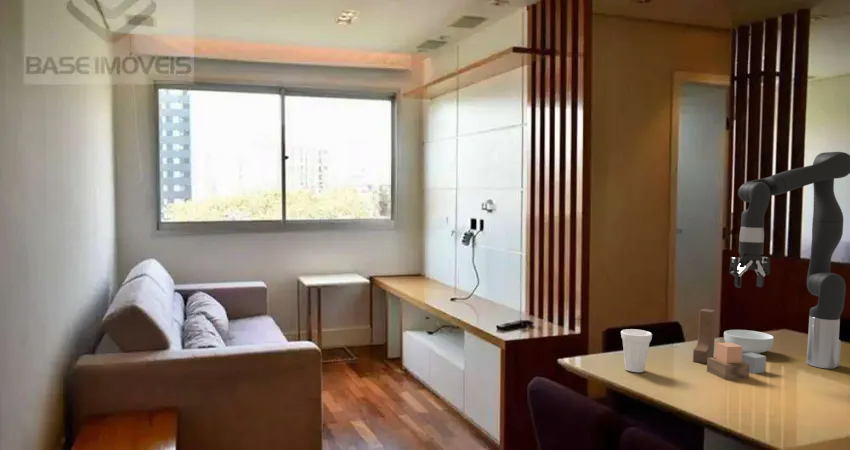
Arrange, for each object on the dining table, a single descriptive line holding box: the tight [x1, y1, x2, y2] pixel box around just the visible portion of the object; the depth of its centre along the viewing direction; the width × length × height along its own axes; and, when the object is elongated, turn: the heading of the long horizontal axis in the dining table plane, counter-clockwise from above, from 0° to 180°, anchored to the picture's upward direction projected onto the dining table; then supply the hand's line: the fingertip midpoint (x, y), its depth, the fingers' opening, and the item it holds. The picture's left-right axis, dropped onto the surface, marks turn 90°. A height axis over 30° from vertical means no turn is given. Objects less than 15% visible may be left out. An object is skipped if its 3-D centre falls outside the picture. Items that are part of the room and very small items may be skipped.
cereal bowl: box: [723, 329, 775, 355], centre depth 246 cm, size 17×17×7 cm
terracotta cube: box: [715, 342, 742, 363], centre depth 215 cm, size 6×6×6 cm
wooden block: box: [692, 308, 717, 365], centre depth 232 cm, size 9×4×18 cm, turn 139°
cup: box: [620, 328, 653, 373], centre depth 218 cm, size 10×10×13 cm
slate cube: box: [742, 352, 767, 375], centre depth 221 cm, size 6×6×6 cm
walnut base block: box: [706, 356, 750, 380], centre depth 216 cm, size 9×9×5 cm
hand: (748, 287), depth 223 cm, fingers open, 8 cm apart
